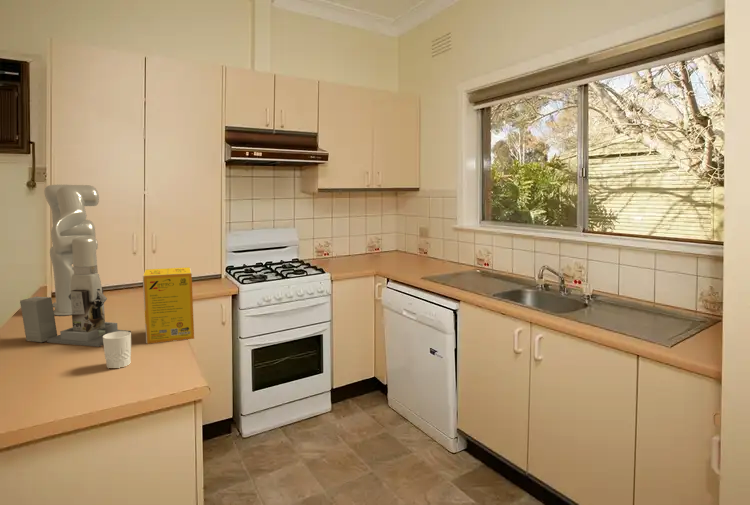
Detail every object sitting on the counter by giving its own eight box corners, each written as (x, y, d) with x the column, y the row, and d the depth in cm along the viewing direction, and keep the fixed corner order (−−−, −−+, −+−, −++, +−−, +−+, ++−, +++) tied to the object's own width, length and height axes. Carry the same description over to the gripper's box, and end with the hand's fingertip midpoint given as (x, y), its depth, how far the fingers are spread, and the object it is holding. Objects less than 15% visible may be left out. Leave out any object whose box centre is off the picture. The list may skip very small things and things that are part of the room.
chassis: (47, 342, 170) (46, 331, 170) (82, 329, 186) (82, 319, 185) (98, 346, 166) (98, 335, 165) (130, 333, 181) (130, 323, 181)
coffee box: (87, 334, 171) (84, 291, 169) (72, 333, 172) (69, 290, 170) (106, 327, 179) (103, 286, 177) (91, 326, 181) (89, 285, 179)
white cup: (111, 361, 152) (109, 331, 151) (136, 360, 153) (135, 331, 151) (99, 370, 144) (97, 338, 143) (126, 369, 145) (124, 338, 143)
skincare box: (58, 338, 175) (54, 296, 173) (39, 343, 169) (35, 300, 167) (42, 335, 178) (38, 295, 176) (22, 341, 171) (19, 299, 169)
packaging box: (148, 331, 184) (145, 269, 181) (192, 327, 191) (190, 267, 188) (146, 343, 170) (142, 276, 167) (194, 338, 176) (191, 273, 173)
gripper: (57, 271, 171) (60, 318, 173) (97, 273, 167) (101, 321, 170) (74, 267, 178) (77, 313, 180) (113, 270, 175) (116, 316, 177)
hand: (88, 317), depth 175 cm, fingers closed on coffee box, 6 cm apart
